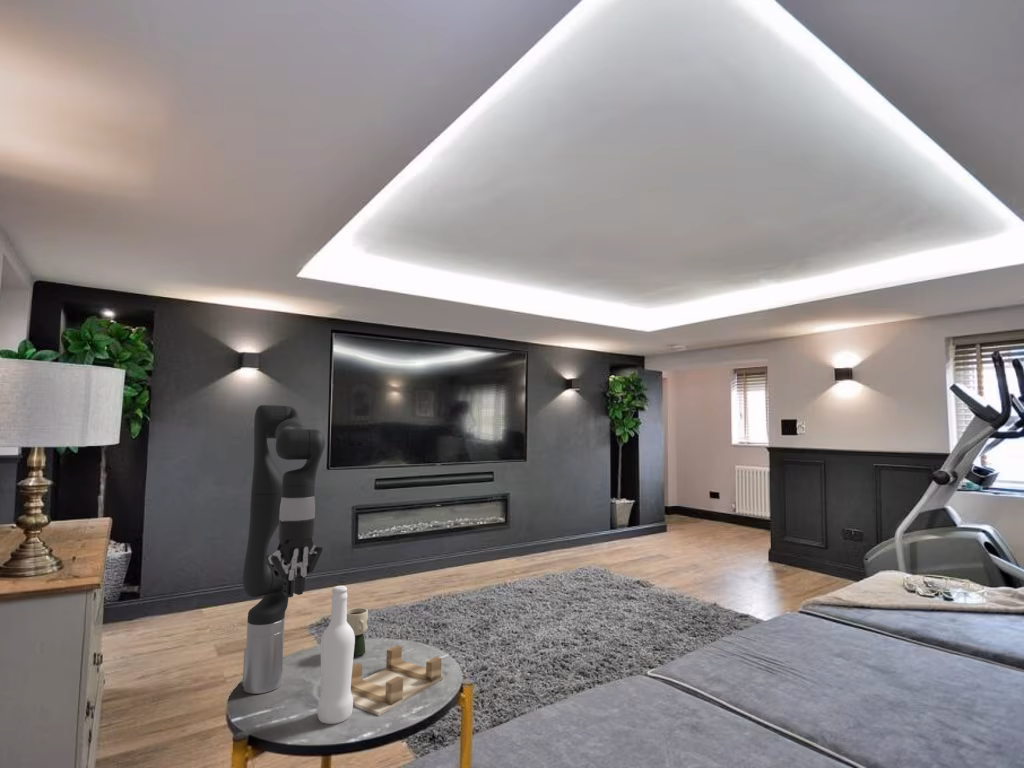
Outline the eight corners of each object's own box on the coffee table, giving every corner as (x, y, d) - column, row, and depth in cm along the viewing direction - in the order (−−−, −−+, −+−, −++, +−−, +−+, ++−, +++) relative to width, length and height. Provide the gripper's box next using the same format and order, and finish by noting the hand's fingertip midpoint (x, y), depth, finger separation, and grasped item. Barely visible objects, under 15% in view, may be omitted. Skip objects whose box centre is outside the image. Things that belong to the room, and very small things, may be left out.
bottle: (341, 727, 123) (346, 592, 126) (310, 723, 124) (315, 590, 128) (358, 710, 131) (363, 583, 134) (328, 706, 132) (333, 581, 136)
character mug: (373, 657, 162) (374, 613, 164) (350, 663, 158) (352, 617, 159) (358, 646, 171) (360, 604, 172) (336, 652, 166) (338, 609, 168)
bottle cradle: (331, 697, 137) (332, 673, 138) (398, 664, 157) (399, 644, 158) (378, 715, 128) (379, 690, 129) (443, 678, 148) (443, 656, 149)
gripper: (312, 512, 130) (309, 586, 128) (259, 519, 118) (254, 600, 116) (332, 514, 126) (329, 590, 124) (280, 521, 114) (275, 606, 112)
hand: (293, 595), depth 120 cm, fingers closed
